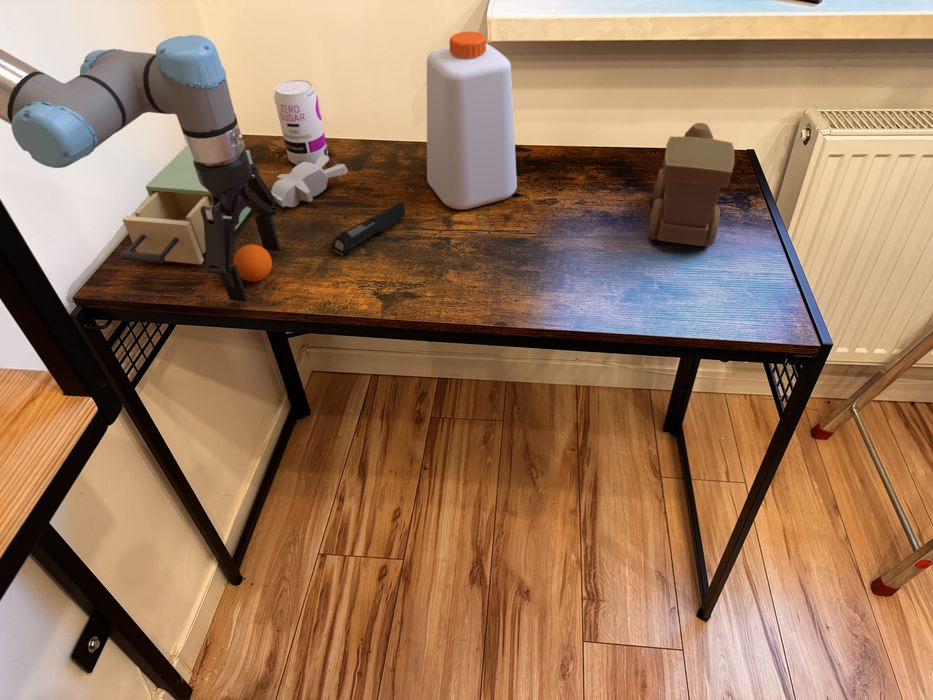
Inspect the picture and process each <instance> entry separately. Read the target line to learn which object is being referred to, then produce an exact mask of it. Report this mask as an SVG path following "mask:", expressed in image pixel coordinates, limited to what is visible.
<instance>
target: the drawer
mask: <svg viewBox="0 0 933 700" xmlns="http://www.w3.org/2000/svg"><path fill="white" fill-rule="evenodd" d="M211 204H212V199H211V196H210V195H199V194H187V193H174V192H162V191H156V192H155V193H154V194H153V195H152V196H151V197H150V196H149V197H148V198H147V199H146V201H145V202H144V203H142V204H141V206H139V208H137V210H135V212H134V214H135V215H125V216H124V217H123V218H122V220H121V221H122V223H123V224H124V227H125V229H126V231H127V233H128V236H129V238H130V240H131V242H132V243H131V245H130V246H129V247H128V248H127V249H126V250H121V251H120V253H119V258H120V260H122V261H131V262H141V263H150V264H160V265H163V264H165V262H174V263H182V264H183V263H184V264H193V265H202V264H203V262H204V261H205V259H204V257H203V255H204V254H206V250H205V235H204V222H203V218H202V215H201V207H202V206H209V205H211Z"/></svg>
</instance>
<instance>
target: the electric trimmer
mask: <svg viewBox="0 0 933 700" xmlns="http://www.w3.org/2000/svg"><path fill="white" fill-rule="evenodd" d="M405 208H406V207H405V203H404V202H403V201H400V202H398V203H396V204H394V205H392V206H390V207H389V208H387V209H385V210H383V211H381V212H379V213H377V214H376V215H373V216H372V217H370V218H367V219H365V220H363V221H361V222H360V223H357V224H356V225H354V226H353V227H351V228H349V229H347V230H345V231H342V232H341V233H339V235H337V236H336V237H335V238H334V240H333V243H332V249H333V251H335V252H336V253H338V254H340V255H341V256H344V255H349V254H351V251H352V248H354V247H356V246H357V245H359V244H360V243H362V242H364V241H366V240H367V239H369V238H370V237H372V236H373V235H375V234H381V233H384V232H385V231H386V230H388V229H389V228H391V227H392V226H393V225H394V224H395V223H397V222H398V221H399V220H400V219H402V218H403V217H404V216H405V215H406V209H405Z"/></svg>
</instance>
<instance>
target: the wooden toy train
mask: <svg viewBox="0 0 933 700" xmlns="http://www.w3.org/2000/svg"><path fill="white" fill-rule="evenodd" d="M734 167H735V147H734V145H733V143H732V142H730V141H725V140H720V139H714V135H713V133H712V132H711V128H710V126H709V125H708V124H706V123H704V122H696V123H694V124H692V126H691V127H690V128H689V129H688V130H687V131H686V132H685V133H684V135H683V136H669V138H668V140H667V142H666V146H665V152H664V156H663V162H662V168H660V169H659V170H658V174H657V178H656V181H655V183H654V185H653V202H652V205H653V206H652V209H651V211H650V214H649V216H648V233H647V235H648V238H649V239H650V240H651V241H652V240H653V241H654V240H657V241H663V242H669V243H676V244H684V245H692V246H699V247H700V246H701V247H706V248H708V247H712V245H713V244H714V243H715V241H716V236H717V234H718V230H719V227H720V225H719V223H720V217H721V208H720V207H719V205H717V204H718V200H719V197H720V192H721V188H726V189H728V187H729V184H730V182H731V181H730V180H731V178H732V177H731V176H732V173H733V170H734Z"/></svg>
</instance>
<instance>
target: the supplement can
mask: <svg viewBox="0 0 933 700" xmlns="http://www.w3.org/2000/svg"><path fill="white" fill-rule="evenodd" d="M273 98H274V103H275V107H276V111H277V115H278V119H279V120H278V121H279V124H280V129H281V133H282V137H283V142H284V146H285V150H286V154H287V158H288V161H289V162H291V163H292V164H293V165H295V166H297V165H298V164H300V163H302V162H308V163H313V164H315V163H316V162H317V160H318V159H319V157H320V156H322V155H327V156H328V154H329V152H328V146H327V141H326V136H325V130H324V125H323V119H322V114H321V108H320V103H319V100H318V99H319V98H318V92H317V91H316V89H315V87H314V86H313V85H312V83H311V82H310V81H309V80H305V79H290V80H287V81H283V82H281V83H279V84H278V85H276V87H275V91H274V95H273Z"/></svg>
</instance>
